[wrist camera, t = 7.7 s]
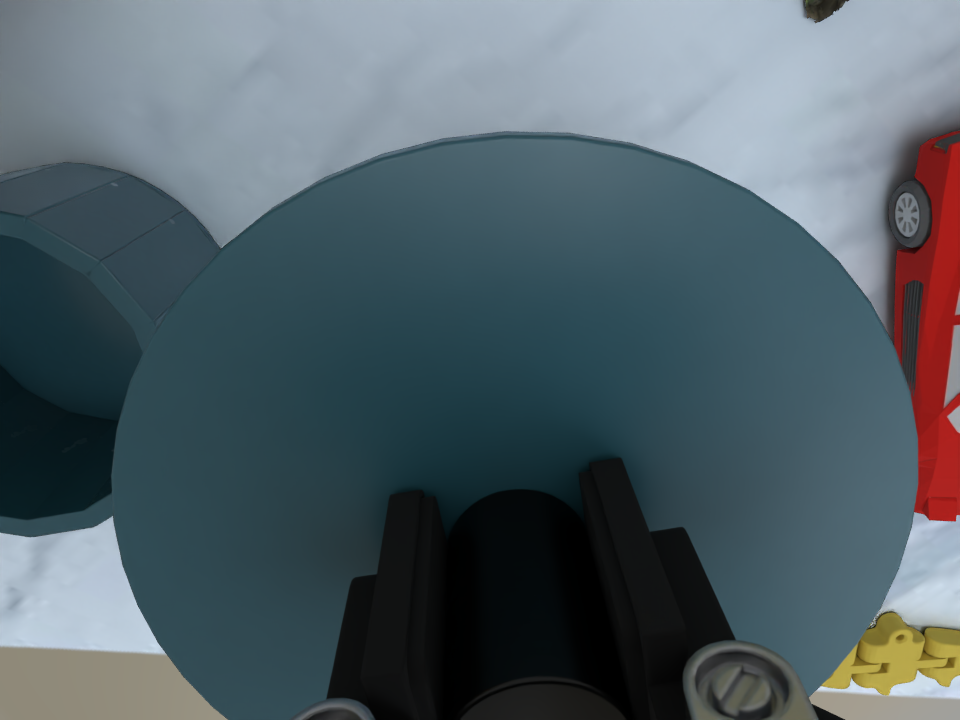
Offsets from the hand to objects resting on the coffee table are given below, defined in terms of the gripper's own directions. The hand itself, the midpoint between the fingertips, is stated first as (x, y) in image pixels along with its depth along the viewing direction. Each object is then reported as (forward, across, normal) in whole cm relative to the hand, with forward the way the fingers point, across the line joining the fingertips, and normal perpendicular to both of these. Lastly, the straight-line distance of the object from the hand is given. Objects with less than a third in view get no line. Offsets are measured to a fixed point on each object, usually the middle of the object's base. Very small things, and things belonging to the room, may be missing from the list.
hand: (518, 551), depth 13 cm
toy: (+21, -20, +25) cm, 38 cm away
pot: (+22, +18, 0) cm, 28 cm away
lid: (+1, 0, 0) cm, 1 cm away
